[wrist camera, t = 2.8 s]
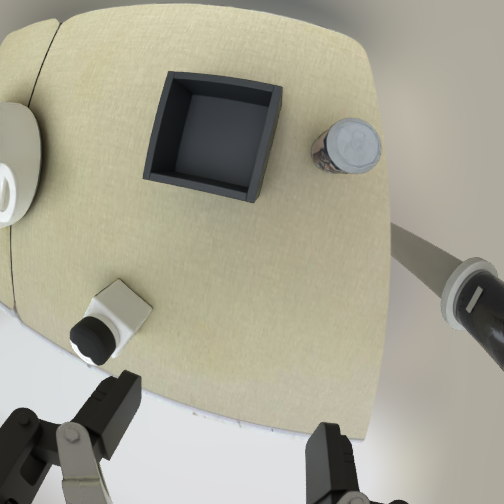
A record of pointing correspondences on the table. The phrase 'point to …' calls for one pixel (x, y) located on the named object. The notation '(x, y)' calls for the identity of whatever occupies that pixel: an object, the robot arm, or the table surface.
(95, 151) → the table surface
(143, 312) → the medicine bottle
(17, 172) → the pot
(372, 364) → the table surface
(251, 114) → the bin
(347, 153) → the beer can
